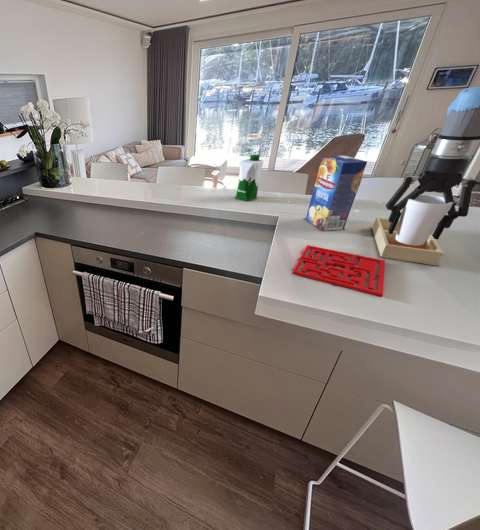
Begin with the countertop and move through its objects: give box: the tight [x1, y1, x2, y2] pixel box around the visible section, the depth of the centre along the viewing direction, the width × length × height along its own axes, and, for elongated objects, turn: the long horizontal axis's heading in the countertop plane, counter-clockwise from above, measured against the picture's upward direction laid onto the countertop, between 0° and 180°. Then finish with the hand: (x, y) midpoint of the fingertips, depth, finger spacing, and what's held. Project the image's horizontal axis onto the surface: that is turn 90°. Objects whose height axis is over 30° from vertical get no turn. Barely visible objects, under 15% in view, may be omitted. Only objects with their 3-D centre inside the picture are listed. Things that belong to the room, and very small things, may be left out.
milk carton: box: [235, 154, 265, 202], centre depth 138 cm, size 9×9×20 cm
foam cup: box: [395, 193, 455, 246], centre depth 83 cm, size 10×9×13 cm
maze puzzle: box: [292, 244, 386, 297], centre depth 83 cm, size 20×20×1 cm
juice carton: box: [305, 154, 368, 231], centre depth 105 cm, size 12×8×24 cm, turn 179°
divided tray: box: [371, 217, 444, 266], centre depth 92 cm, size 12×24×4 cm, turn 148°
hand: (411, 234), depth 86 cm, fingers closed on foam cup, 9 cm apart
